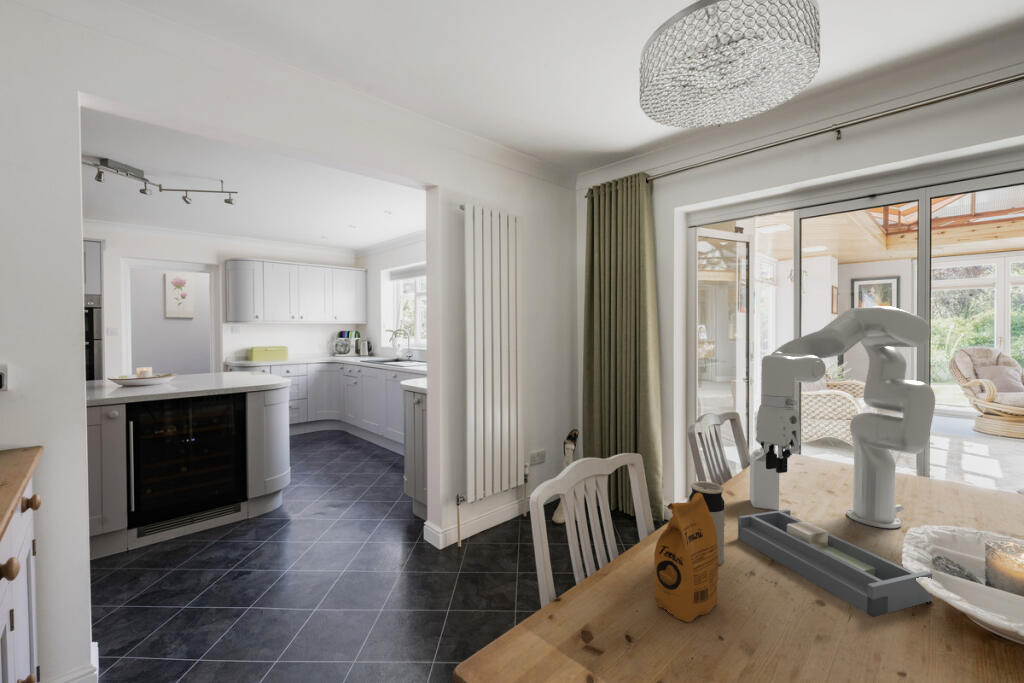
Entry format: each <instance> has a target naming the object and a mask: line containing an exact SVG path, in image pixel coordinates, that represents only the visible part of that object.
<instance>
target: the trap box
mask: <svg viewBox="0 0 1024 683" xmlns="http://www.w3.org/2000/svg"><path fill="white" fill-rule="evenodd" d="M737 517H738V518H737V519H738V520H737V539H738V540H740V541H742V543H745V544H747V545H748V546H750V547H752V548H753V549H754V550H755V549H756V550H757V551H758V552H760V553H762V554H763V555H765V556H767V557H769V558H771V560H772V559H773V560H774V561H776V562H777V563H779V564H781V565H783V566H784V567H786V568H788V569H789V570H791V571H793V572H794V573H796V574H798V575H799V576H801V577H803V578H805V579H807V580H808V581H810V582H811V583H813V584H815V585H817V586H819V587H820V588H822V589H824V590H825V591H827V592H828V593H830V594H832V595H834V596H835V597H838V598H839V599H840V600H842V601H844V602H846V603H848V604H849V605H851V606H853V607H854V608H856V609H857V610H860V611H861V612H863V613H864V614H866V615H868V616H870V617H871V618H874V617H877V616H880V615H882V616H883V615H886V614H890V613H892V612H893V613H894V612H897V611H900V609H901V610H904V608H905V609H909V608H912V606H913V607H916V606H915V605H917V606H919V604H921V603H924V604H926V603H925V602H928V603H930V602H929V601H932V600H933V599H932V596H933V594H932V595H931V594H930V593H928V592H927V591H926V590H925V589H924V588H923V587H922V586H921V585H920V584H919V583H918V582H917V581H916V578H919V577H928V578H931V579H932V580H933V573H932V572H930V571H928V570H923V571H919V572H916V571H913V570H910V569H909V568H907V567H904V566H901V565H899V564H897V563H895V562H892V561H891V560H889V559H886V558H884V557H882V556H879V555H877V554H875V553H873V552H870V551H869V550H867V549H864V548H863V547H860V546H858V545H855V544H853V543H851V542H849V541H847V540H845V539H842V538H840V537H838V536H836V535H834V534H831V533H829V532H828V548H823V549H819V548H817V547H815V546H813V545H811V544H809V543H807V542H805V541H803V540H801V539H799V538H797V537H795V536H793V535H791V534H789V533H787V524H791V523H797V522H803V520H800V519H798V518H796V517H794V516H792V515H791V510H790V509H788V508H785V509H779V510H773V511H766V512H759V513H753V514H745V515H740V516H737ZM921 605H922V604H921ZM908 607H909V608H908ZM896 610H897V611H896Z"/></svg>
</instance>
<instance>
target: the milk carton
mask: <svg viewBox="0 0 1024 683" xmlns="http://www.w3.org/2000/svg"><path fill="white" fill-rule="evenodd" d="M749 455H750V456H749V502H750V503H751V505H752V508H757V509H763V510H773V511H779V510H780V473H777V472H776V469H766V454H765V453H764V449H763V448H762V446H761V447H760V448H757V449H754V450H753V452H752V453H751V454H749Z"/></svg>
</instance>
